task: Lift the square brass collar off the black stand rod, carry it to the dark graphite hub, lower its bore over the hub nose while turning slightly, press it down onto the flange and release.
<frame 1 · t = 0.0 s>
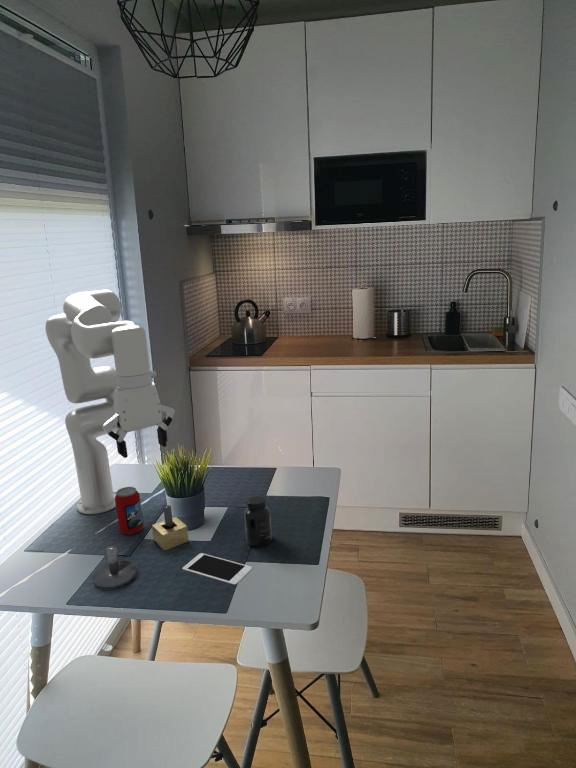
hand: (143, 450, 139), 31 cm above the table, tool pointing down, fingers open, 9 cm apart
cell phone: (217, 570, 146), on the table
supplement bottle: (259, 541, 157), on the table
beverage can: (131, 530, 167), on the table
stand rod: (171, 540, 160), on the table
hub: (115, 577, 144), on the table
collar: (171, 540, 160), on the table
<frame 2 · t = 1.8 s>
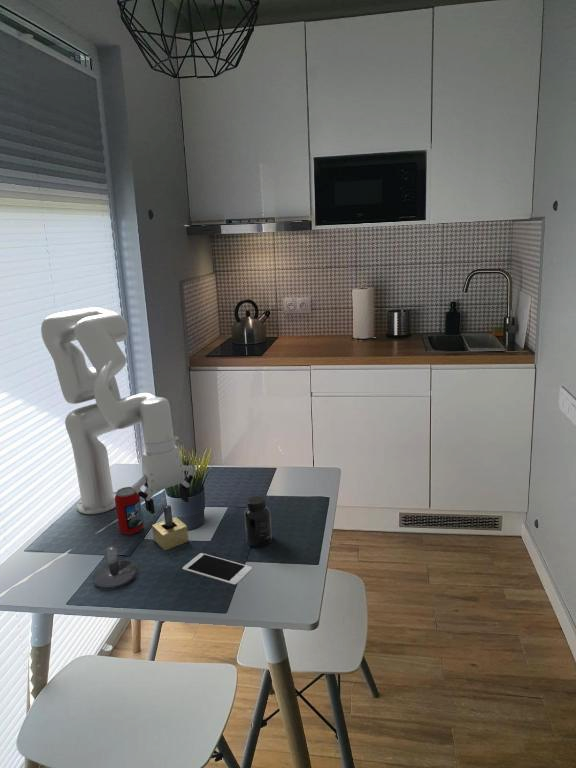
hand: (168, 506, 156), 10 cm above the table, tool pointing down, fingers open, 9 cm apart
nothing on the table moved.
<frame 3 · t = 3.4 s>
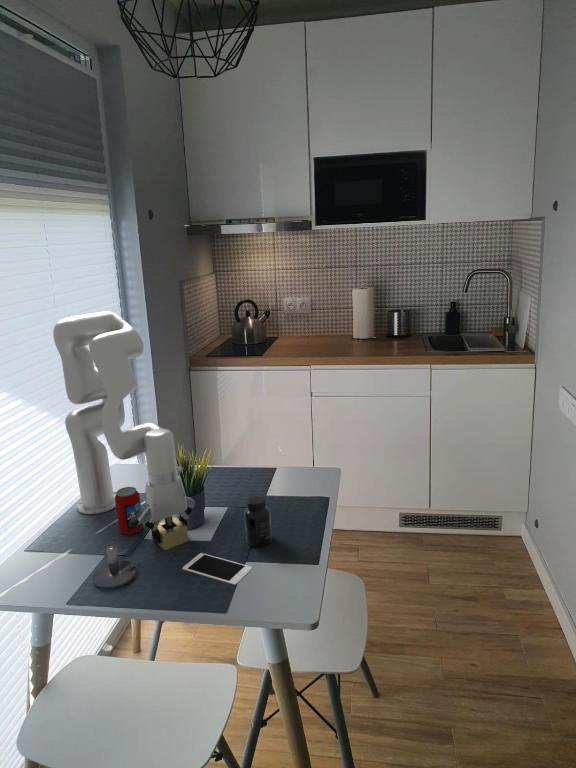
hand: (170, 536, 159), 1 cm above the table, tool pointing down, fingers closed on collar, 7 cm apart
collar: (171, 540, 160), on the table, touching gripper
everything else where it was.
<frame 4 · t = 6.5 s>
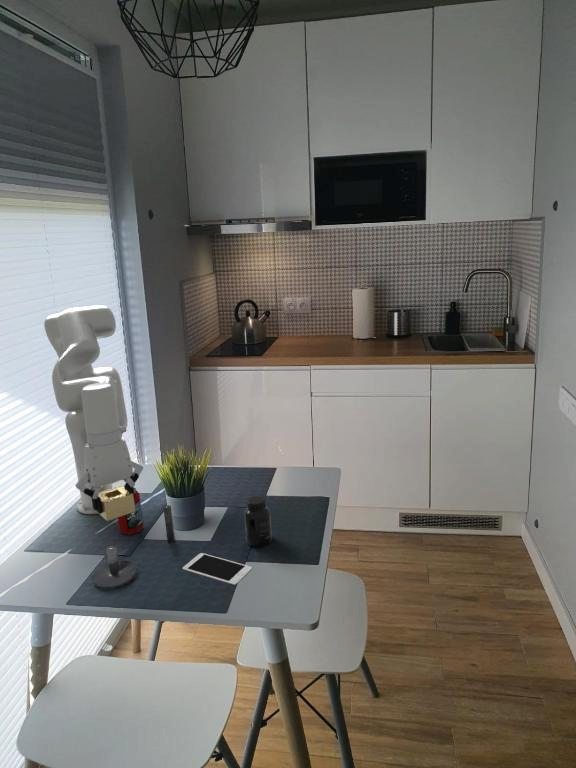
hand: (114, 505, 142), 18 cm above the table, tool pointing down, fingers closed on collar, 7 cm apart
collar: (116, 511, 142), point 17 cm above the table, touching gripper
everything else where it was.
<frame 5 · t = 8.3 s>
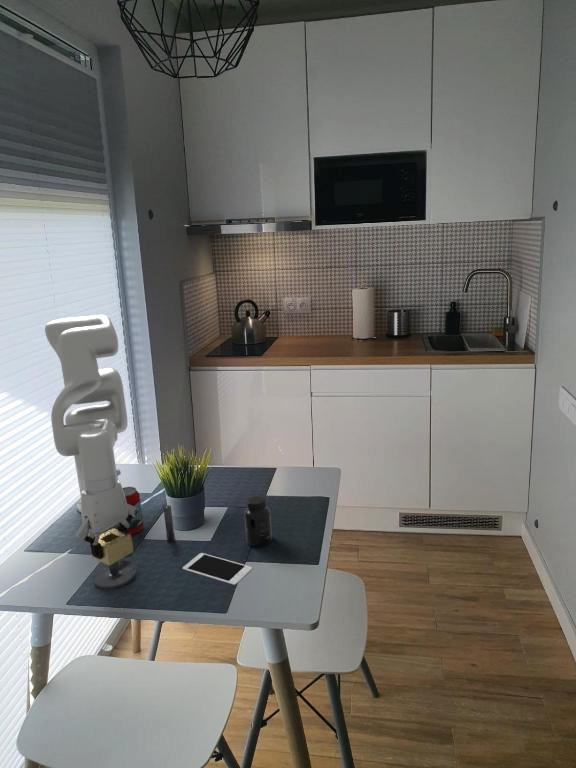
hand: (111, 549, 142), 8 cm above the table, tool pointing down, fingers closed on collar, 7 cm apart
collar: (112, 554, 142), point 6 cm above the table, touching gripper
everything else where it was.
when the fingers open (3 cm above the table, at t = 9.8 s): collar stays where it is, resting on hub.
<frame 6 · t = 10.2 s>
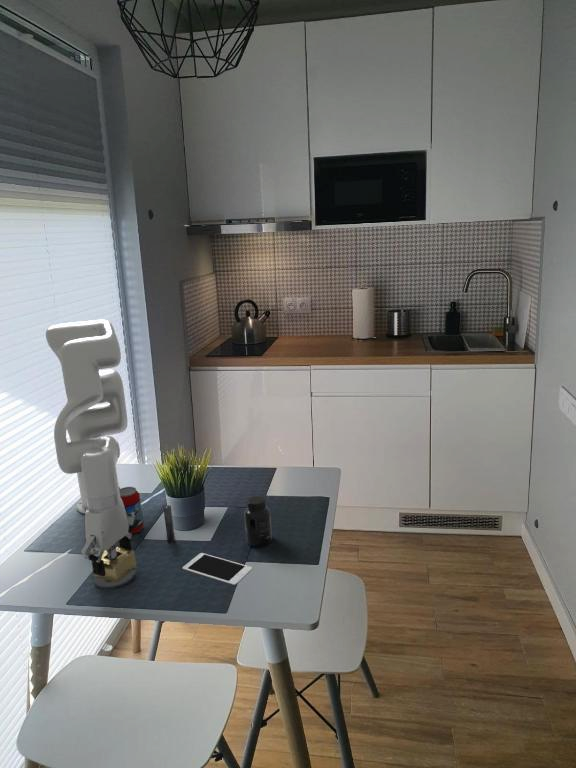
hand: (113, 563, 143), 4 cm above the table, tool pointing down, fingers open, 9 cm apart
collar: (115, 571, 144), point 1 cm above the table, touching hub
everything else where it was.
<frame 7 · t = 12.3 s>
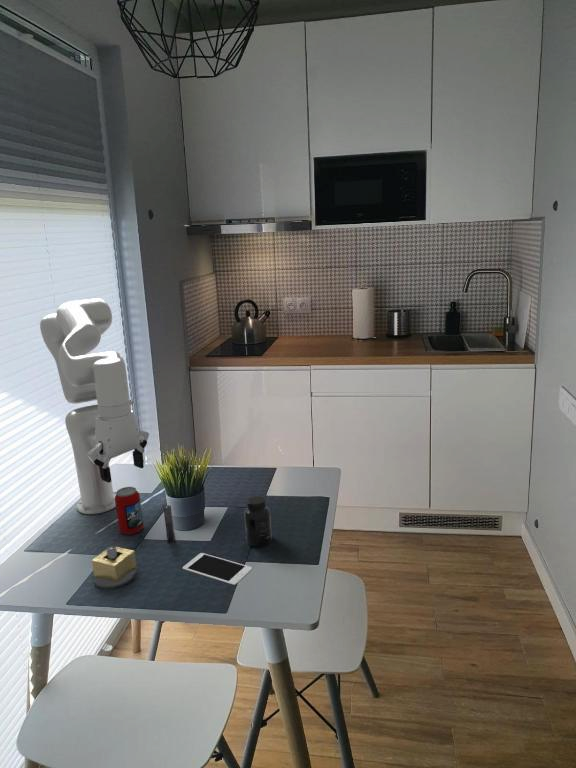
hand: (123, 473, 148), 23 cm above the table, tool pointing down, fingers open, 9 cm apart
nothing on the table moved.
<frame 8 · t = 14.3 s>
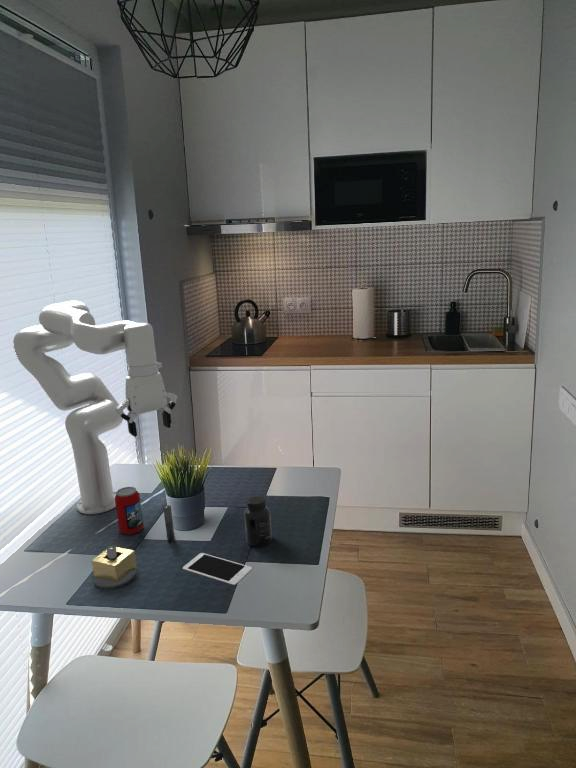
hand: (150, 430, 161), 28 cm above the table, tool pointing down, fingers open, 9 cm apart
nothing on the table moved.
at the end: collar 0.2 cm off-centre on the hub, point 1.5 cm above the hub's base; collar tilted 0°; the gripper is holding nothing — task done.
